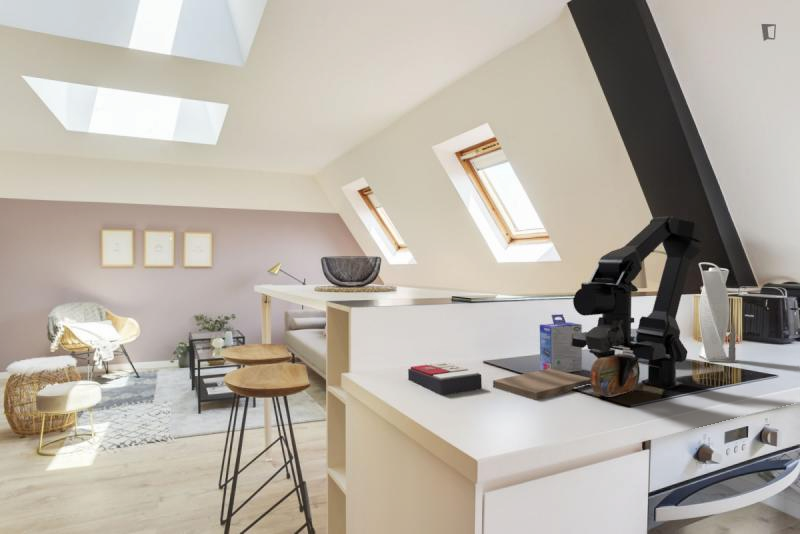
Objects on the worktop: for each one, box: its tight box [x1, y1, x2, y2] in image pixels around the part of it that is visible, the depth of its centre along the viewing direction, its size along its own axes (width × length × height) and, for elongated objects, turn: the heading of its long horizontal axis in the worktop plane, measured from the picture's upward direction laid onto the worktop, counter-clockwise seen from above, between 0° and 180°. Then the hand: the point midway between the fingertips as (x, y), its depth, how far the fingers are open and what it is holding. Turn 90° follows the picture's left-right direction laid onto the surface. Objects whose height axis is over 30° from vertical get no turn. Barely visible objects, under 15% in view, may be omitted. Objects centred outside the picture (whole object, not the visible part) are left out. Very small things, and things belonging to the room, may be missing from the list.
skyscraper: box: [698, 261, 738, 364], centre depth 141 cm, size 8×8×28 cm
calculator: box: [407, 362, 483, 396], centre depth 114 cm, size 11×4×15 cm
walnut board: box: [492, 369, 591, 401], centre depth 112 cm, size 20×12×2 cm, turn 125°
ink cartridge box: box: [539, 313, 583, 373], centre depth 127 cm, size 10×6×14 cm, turn 111°
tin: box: [590, 353, 641, 398], centre depth 106 cm, size 15×3×8 cm, turn 124°
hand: (615, 384), depth 106 cm, fingers closed on tin, 2 cm apart
